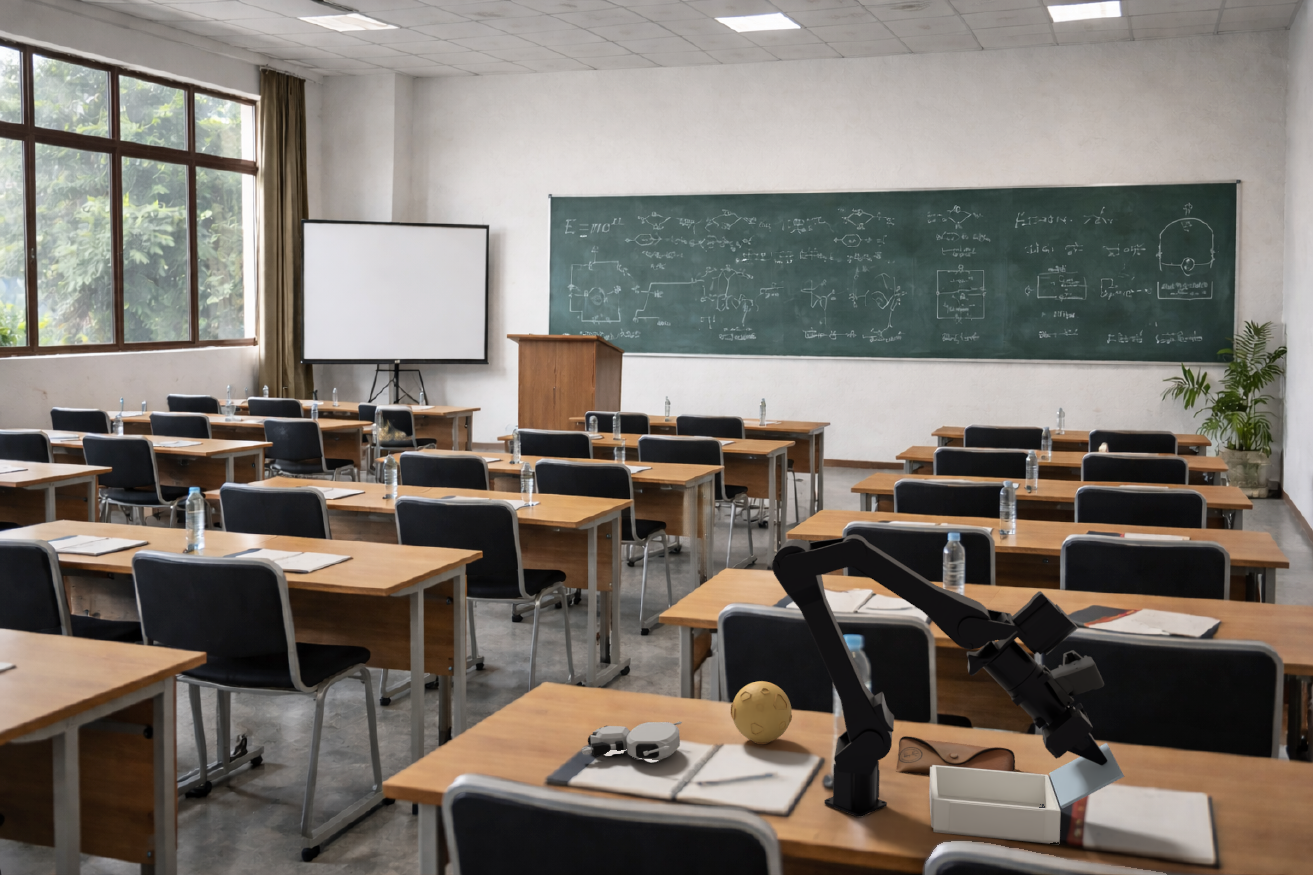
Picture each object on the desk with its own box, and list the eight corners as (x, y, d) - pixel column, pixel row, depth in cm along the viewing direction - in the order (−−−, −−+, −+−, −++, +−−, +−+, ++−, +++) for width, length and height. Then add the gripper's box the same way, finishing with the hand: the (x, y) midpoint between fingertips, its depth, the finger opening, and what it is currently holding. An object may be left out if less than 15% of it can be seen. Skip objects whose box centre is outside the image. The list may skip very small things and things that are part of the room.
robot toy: (579, 771, 171) (673, 771, 168) (577, 742, 171) (671, 742, 168) (598, 744, 183) (686, 744, 180) (596, 717, 183) (684, 717, 180)
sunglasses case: (892, 772, 169) (895, 728, 172) (895, 781, 175) (898, 738, 178) (1015, 787, 163) (1016, 741, 166) (1014, 795, 169) (1015, 752, 172)
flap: (1060, 805, 144) (1122, 773, 142) (1049, 772, 156) (1106, 742, 154) (1062, 808, 144) (1124, 776, 142) (1050, 775, 156) (1108, 745, 154)
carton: (931, 832, 147) (932, 799, 147) (929, 793, 160) (929, 763, 160) (1059, 845, 144) (1060, 811, 143) (1046, 804, 157) (1047, 773, 157)
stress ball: (748, 735, 188) (710, 704, 184) (786, 691, 189) (749, 660, 185) (774, 764, 179) (734, 733, 175) (813, 718, 180) (775, 686, 175)
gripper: (1076, 655, 139) (1167, 747, 137) (1057, 622, 157) (1137, 703, 156) (1010, 711, 141) (1098, 803, 140) (998, 672, 160) (1076, 753, 158)
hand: (1104, 762), depth 148 cm, fingers closed
